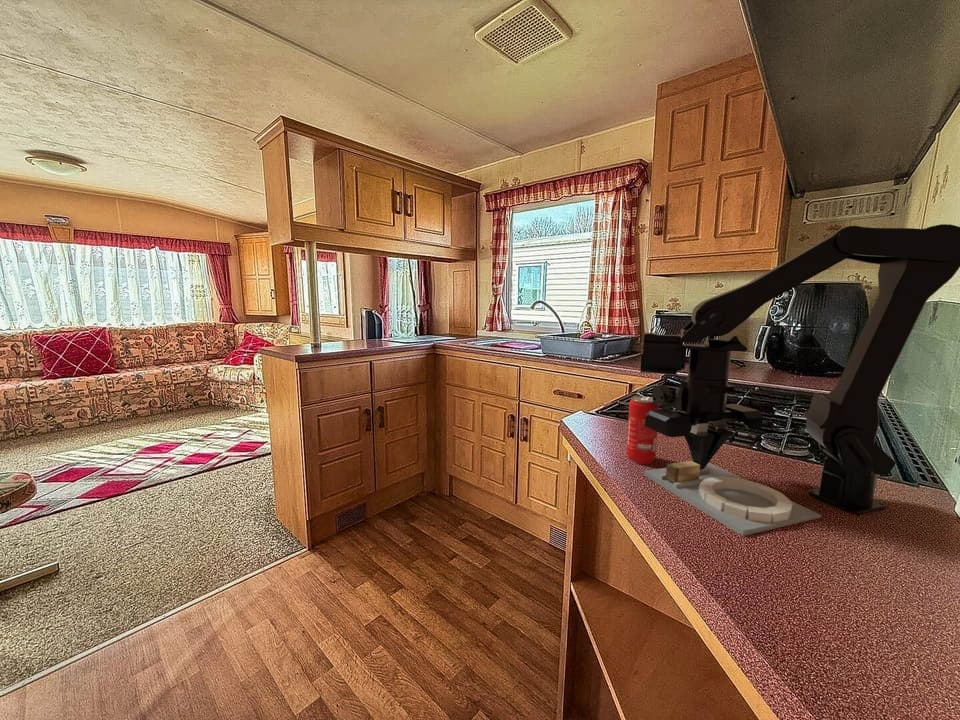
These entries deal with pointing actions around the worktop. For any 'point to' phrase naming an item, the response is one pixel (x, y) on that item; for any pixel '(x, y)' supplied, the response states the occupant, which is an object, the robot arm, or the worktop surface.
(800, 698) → the worktop surface
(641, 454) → the beverage can
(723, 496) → the dock board
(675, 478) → the bar
